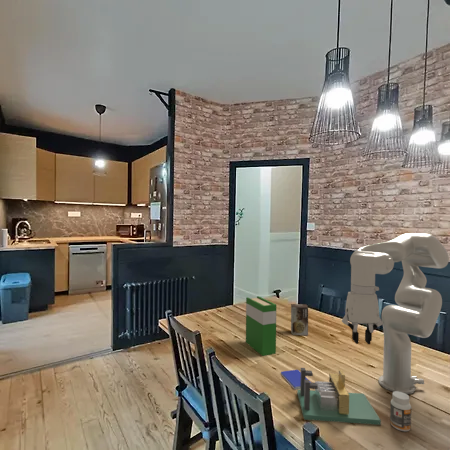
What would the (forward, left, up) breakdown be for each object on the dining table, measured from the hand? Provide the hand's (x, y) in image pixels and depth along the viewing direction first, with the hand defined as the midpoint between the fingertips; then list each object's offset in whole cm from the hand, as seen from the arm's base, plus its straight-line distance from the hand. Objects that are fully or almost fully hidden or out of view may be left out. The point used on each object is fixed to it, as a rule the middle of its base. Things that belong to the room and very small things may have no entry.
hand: (361, 342), depth 106 cm
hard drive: (+19, -17, -24) cm, 35 cm away
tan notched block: (+7, 0, -21) cm, 23 cm away
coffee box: (+11, -70, -23) cm, 75 cm away
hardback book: (+34, -47, -23) cm, 62 cm away
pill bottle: (-9, +8, -23) cm, 27 cm away
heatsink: (+11, 0, -22) cm, 24 cm away
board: (+9, +1, -23) cm, 25 cm away
